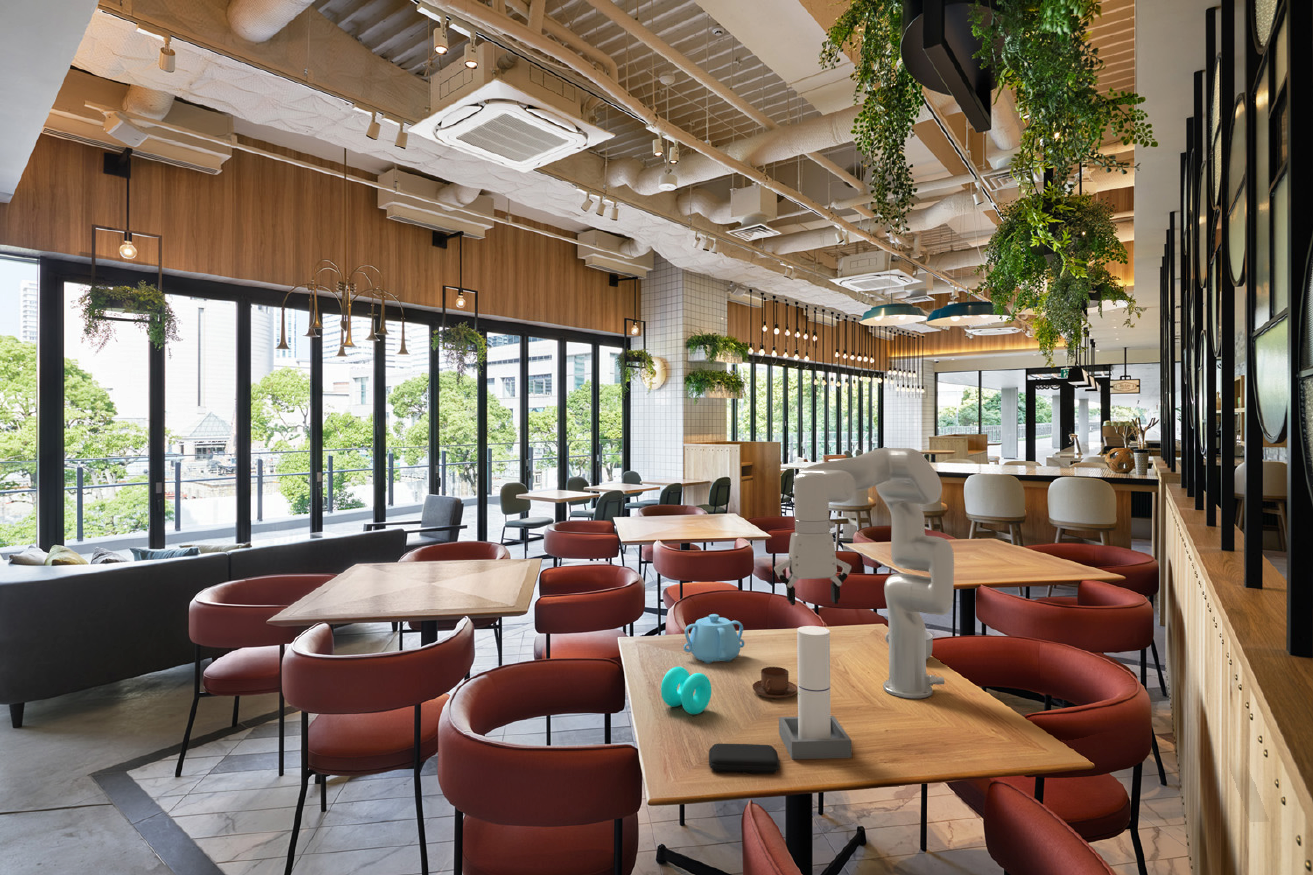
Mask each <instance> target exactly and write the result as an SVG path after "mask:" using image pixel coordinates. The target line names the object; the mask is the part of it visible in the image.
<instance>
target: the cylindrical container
mask: <svg viewBox="0 0 1313 875" xmlns="http://www.w3.org/2000/svg"><path fill="white" fill-rule="evenodd" d="M796 630H797V631H796V632H797V633H796V634H797V636H796V637H797V639H796V640H797V641H796V642H797V688H798V689H797V717H798V740H799V739H831V716H832V715H831V643H830V642H831V640H830V639H831V636H830V635H831V634H830V632H831V631H830V629H828V627H827V628H826V627H824V626H817V625H806V626H800V627H797V629H796Z"/></svg>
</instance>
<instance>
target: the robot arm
mask: <svg viewBox="0 0 1313 875" xmlns="http://www.w3.org/2000/svg"><path fill="white" fill-rule="evenodd" d="M873 487H875V490H876V492H877V494H878V496H879V497H880V498H881V499H882V500H883V502H884V503H885V506H886V507H887V509H888V511H889V514H890V517H891V534H890V536H891V538H890V539H891V543H890V545H891V546H890V553H891V561H892V564H894V565H895V566H896V567H897V568H901V569H904V570H905V569H906V570H912V571H919V572H925V573H929V574H930V576H925V575H919V574H912V573H904V572H903V573H902V572H901V573H893V574H891V575H889V576H888V577H887V579H886V580H885V582H884V587H883V589H884V591H883V592H884V597H885V598H884V599H885V603H886V609H887V615H888V616H887V618H888V620H887V621H888V632H889V637H888V639H889V644H888V679H887V680H885V681H884V682H883V683H882V686H883V687H882V688H883V690H884V691H885V692H886V693H888V694H890V695H893V696H896V697H899V698H905V699H914V700H915V699H916V700H917V699H924V698H929V697H930V696H932V695H933V688H932V687H933V686H934V685H940V686H941V685H945V682H946V681H945V678H944V677H943V676H936V675H934V674H929V675H928V673H927V659H926V631H927V630H926V628H927V627H926V624H925V621H924V619H923V617H922V616H921V614H920V613H922V614H927V615H935V616H945V615H948V614H949V613H950V611H951V609H952V607H953V604H954V588H955V587H954V584H955V582H954V578H955V577H954V576H955V559H954V558H955V555H954V550H953V547H952V544H951V543H950V542H949V541H948V540H947V539H946V538H944V537H941V536H934V535H926V532H925V531H926V530H925V528H926V527H925V525H926V523H925V519H926V518H925V514H924V512H923V510H922V509H921V507H920V505H931V504H935V503H937V502H938V501H939V500H940V499H941V496H942V493H943V484H942V481H941V478H940V476H939V475H938V472H936V470H935V469H934V468H933V466H932V464H930V462H929V461H928V459H926V458H925V456H924V455H923V454H922V453H921V452H920V451H918V450H917V449H914V448H911V447H903V448H902V447H882V448H881V447H880V448H876V449H872V450H870V451H868V452H865V453H862V454H859V455H856V456H853V457H848V458H847V457H846V458H842V459H838V460H837V459H836V460H832V461H827V462H822V463H818V464H813V465H810V466H808V467H805V468H802V469H801V470H800V471H799V472H798V473H797V474H795V476H794V478H793V493H794V494H793V495H794V497H793V500H794V532H791V533H790V539H789V548H788V559H786V560H784V561H783V562H780V563H779V564H777V565H776V566H774V567H773V570H774V571H775V574H776V575H777V577H778V579H779V580H780V581H781V582H782V583H783V584H784V585H786V600H787V601H788V603H790V605H791V606H796V587H795V586H794V585H795V584H796V583H797V581H798V580H810V579H811V580H813V579H815V580H817V579H830V580H831V581H832V582H831V583H830V600H831V602H832V603H833V604H834V605H839V600H840V599H841V586H842V585H843V583H844V582H845V581H846V579H847V578H848V576H849V574H850V572H851V570H852V565H850V564H849V563H847V562H845V561H842V560H840V559H839V558H837V554H836V547H835V541H834V537H833V533H832V532H831V529H833V528H834V529H835V528H836V522H835V521H832V520H831V519H830V514H829V512H830V510H829V508H830V507H829V503H834V504H835V503H836V504H837V503H838V504H839V503H846V502H848V501H850V500H851V499H852V498H853V497H854V495H855V494H856V492H857V491H858V492H860V491H865V490H869V489H871V488H873ZM837 566H839V567H841V568H842V571H841V572H840V573H838V575H837V572H838V567H837ZM785 569H788V573H789V576H787V577H786V576H785V574H784V572H783V571H784V570H785Z"/></svg>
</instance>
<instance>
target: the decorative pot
mask: <svg viewBox="0 0 1313 875" xmlns="http://www.w3.org/2000/svg"><path fill="white" fill-rule="evenodd" d="M734 625H738V626H739V629H738V633H737V631H736V630H737V629H736V628H735V626H734ZM689 630H691V631H690V635H689ZM743 633H744V626H743V624H742V623H741V622H740V621H738V620H732V621H731V620H729V619H728V618H726V617H720V615H719V614H717V613H712V614H709V615H708V616H705V617H703V618H699V619H697V620H696V621H695V623H691V624H688V625H687V626H686V627H685V629H684V637H685V638H686V643H685V644H684V645H683V651H684V652H686V653H691V654H692V655H693V657H694V658H695V659H697V660H699V661H703V663H704V664H712V663H713V662H721V661H722V662H726V663H729V662H732V660H733V659H736V658H737V657H738V656H739V653H740V651H741V648H743V647H745V641H744V639H742V635H743ZM740 642H741V643H740ZM687 646H688V648H687Z"/></svg>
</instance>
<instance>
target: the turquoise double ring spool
mask: <svg viewBox="0 0 1313 875" xmlns="http://www.w3.org/2000/svg"><path fill="white" fill-rule="evenodd" d="M678 686H679V687H678ZM660 693H661V698H662V700H663V702H664V704H666V705H667V706H669V707H673V708H675V707H680V706H681V705H682V708H683V709H684V711H685V712H686V713H687V714H690V715H699V714H700V713H702V712H703V711H705V710H706V708H707V707H708V705H709V703H710V700H711V698H712V683H711V680H710V679H709V678H708V676H707V675H706V674H704V673H701V672H695V673H692V674H691V675H690V673H689V671H688V670H687V669H686V668H685V667H682V666H674V667H673V668H670V669H669V670H668V671H667V672H666V673H665V675H664V677H663V679H662V681H661V685H660Z"/></svg>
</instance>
